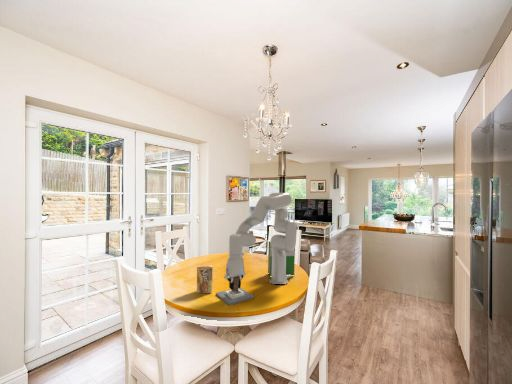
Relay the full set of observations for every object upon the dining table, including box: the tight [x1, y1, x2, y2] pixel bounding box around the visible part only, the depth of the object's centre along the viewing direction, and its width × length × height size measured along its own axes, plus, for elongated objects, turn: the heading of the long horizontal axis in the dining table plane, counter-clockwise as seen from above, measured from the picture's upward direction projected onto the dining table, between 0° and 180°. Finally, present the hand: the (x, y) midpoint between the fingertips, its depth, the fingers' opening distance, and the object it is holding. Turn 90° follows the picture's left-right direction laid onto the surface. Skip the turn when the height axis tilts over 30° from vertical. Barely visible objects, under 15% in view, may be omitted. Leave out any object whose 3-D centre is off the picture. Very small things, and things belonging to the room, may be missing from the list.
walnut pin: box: [231, 276, 239, 292], centre depth 136 cm, size 4×4×8 cm
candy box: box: [196, 264, 214, 294], centre depth 142 cm, size 9×4×15 cm, turn 93°
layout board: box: [215, 287, 255, 306], centre depth 136 cm, size 16×16×2 cm
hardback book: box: [267, 241, 296, 277], centre depth 173 cm, size 18×7×24 cm, turn 98°
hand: (235, 287), depth 136 cm, fingers closed on walnut pin, 4 cm apart
